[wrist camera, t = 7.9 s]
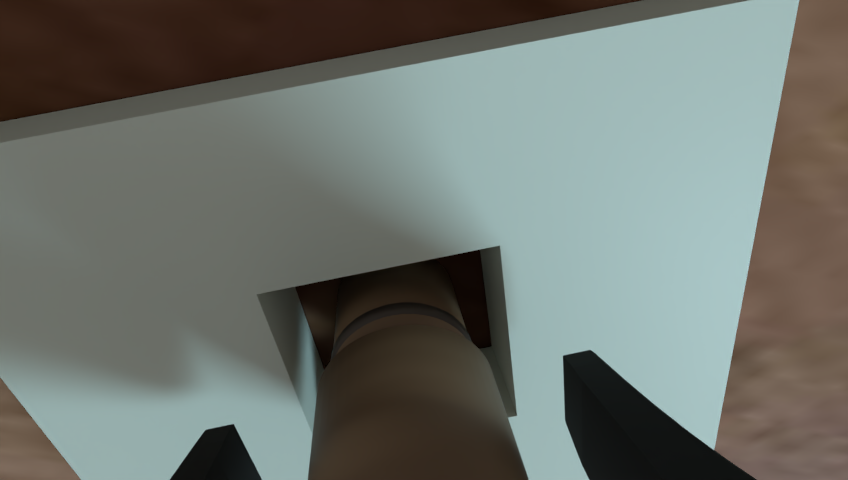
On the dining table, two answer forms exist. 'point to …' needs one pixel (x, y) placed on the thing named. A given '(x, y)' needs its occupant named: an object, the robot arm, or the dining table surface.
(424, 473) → the walnut peg
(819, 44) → the dining table surface
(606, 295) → the sage board
